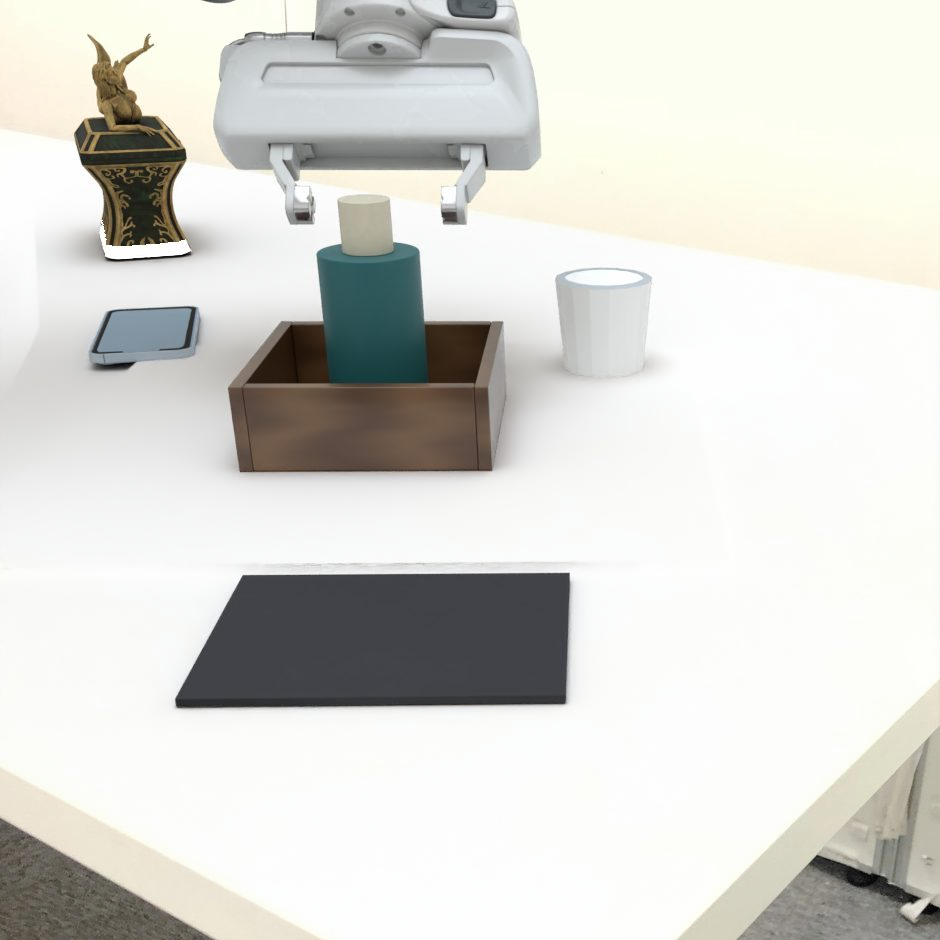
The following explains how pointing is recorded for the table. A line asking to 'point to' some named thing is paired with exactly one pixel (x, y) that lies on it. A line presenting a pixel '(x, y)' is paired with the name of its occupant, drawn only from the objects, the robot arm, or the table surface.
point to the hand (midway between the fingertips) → (376, 219)
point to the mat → (386, 641)
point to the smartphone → (145, 335)
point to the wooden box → (371, 406)
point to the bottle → (372, 298)
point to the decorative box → (130, 159)
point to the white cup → (603, 320)
